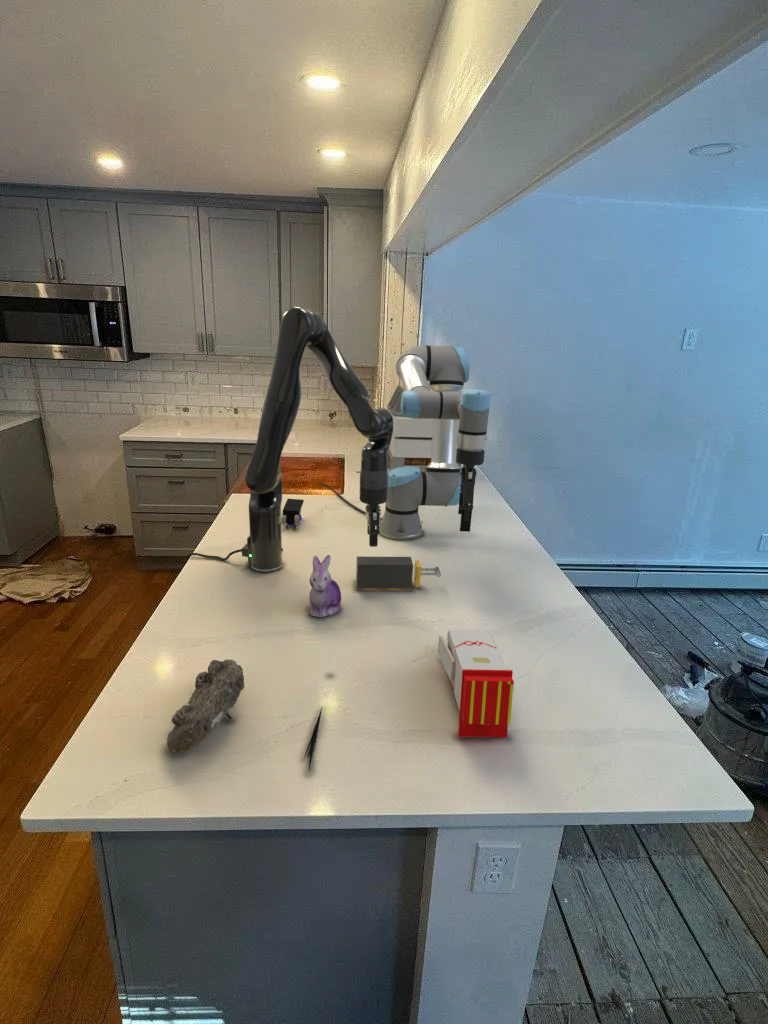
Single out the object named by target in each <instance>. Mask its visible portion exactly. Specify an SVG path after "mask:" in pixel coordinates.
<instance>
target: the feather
mask: <svg viewBox="0 0 768 1024" xmlns="http://www.w3.org/2000/svg"><path fill="white" fill-rule="evenodd" d="M329 675H330V676H331V675H332V674H331V673H330V674H329ZM322 710H323V707H321V708H320V710H319V713H318V716H317V719H316V723H315V725H314V728H313V731H312V733H311V737H310V739H309V742H308V745H307V748H306V751H305V754H304V757H303V760H302V763H301V767H302V765H303V763H304V761H305V758H308V759H309V760H308V762H307V763H308V764H307V766H308V771H310V770H311V766H312V765H311V764H312V760H313V757H315V756H314V755H315V751H316V749H315V746H317V739H318V733H319V729H320V722H321V717H322V712H323V711H322ZM313 754H314V755H313ZM306 755H307V757H306Z"/></svg>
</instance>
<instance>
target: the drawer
mask: <svg viewBox="0 0 768 1024" xmlns="http://www.w3.org/2000/svg"><path fill="white" fill-rule="evenodd" d="M421 576H436V578H440V577H442V572H441V570H440V567H438V566H435V567H432V568H429V567H428V568H425V567H423V568H422V565H421V562H420V560H419V559H418V560H417V559H416V560H414V567H413V582H414V586H415V588H420V587H421Z"/></svg>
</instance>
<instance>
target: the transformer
mask: <svg viewBox="0 0 768 1024" xmlns="http://www.w3.org/2000/svg"><path fill="white" fill-rule="evenodd" d="M403 392H404V387H402V385H399V384H398V385H397V386H396V388H395V390H394V392H393V394H392V395H391V398H390V400H389V402H388V404H387V405H386V409H387V410H388V411H389V412H390V413H391V415H392V417H393V422H394V428H393V434H392V438H391V443H390V447H389V450H388V468H389V471H391V470H392V469H395V468H398V467H404V466H413V467H427V466H428V465H429V464H430V463H431V452H432V425H433V419H413V418H405V417H403V416H402V415H401V395H402V393H403ZM458 431H459V420H458V425H457V438H458ZM458 448H459V447H458V446H457V449H458ZM457 449H456V452H457ZM456 463H457V465H458V466H459V467H460V472H461V468H462V464H460V463H458V462H457V461H456Z"/></svg>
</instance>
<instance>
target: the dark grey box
mask: <svg viewBox="0 0 768 1024" xmlns="http://www.w3.org/2000/svg"><path fill="white" fill-rule="evenodd" d="M355 565H356V569H355V586H356V587H355V589H356V591H357V592H358V591H359V592H362V591H365V592H366V591H368V592H369V591H370V592H371V591H373V592H375V591H376V592H380V591H382V592H383V591H384V592H386V591H387V592H389V591H390V592H391V591H392V592H394V591H395V592H396V591H398V592H400V591H403V592H404V591H405V592H411V591H412V589H413V576H414V562H413V559H412V556H360V555H359V556H358V555H357V556H356V564H355Z"/></svg>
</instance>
